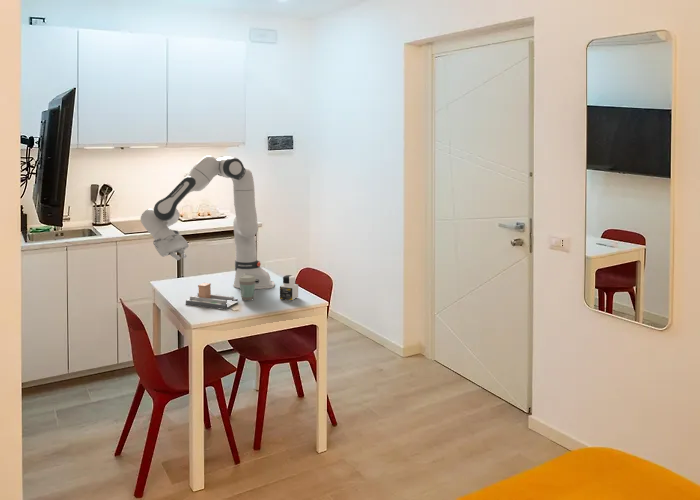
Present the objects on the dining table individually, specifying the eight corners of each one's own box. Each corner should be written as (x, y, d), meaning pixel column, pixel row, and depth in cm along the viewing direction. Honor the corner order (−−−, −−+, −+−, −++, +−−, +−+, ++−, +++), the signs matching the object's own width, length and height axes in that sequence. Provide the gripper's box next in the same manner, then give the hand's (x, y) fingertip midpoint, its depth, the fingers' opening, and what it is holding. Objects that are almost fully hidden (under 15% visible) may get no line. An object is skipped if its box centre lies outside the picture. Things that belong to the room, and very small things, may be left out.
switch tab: (198, 299, 307) (197, 285, 306) (204, 296, 312) (203, 282, 311) (205, 300, 306) (205, 286, 304) (211, 297, 311) (210, 283, 309)
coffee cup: (241, 296, 321) (241, 274, 319) (257, 297, 320) (257, 274, 318) (237, 301, 313) (236, 278, 310) (253, 301, 312) (253, 278, 310)
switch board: (185, 304, 306) (185, 297, 305) (199, 298, 317) (199, 291, 316) (225, 309, 299) (224, 302, 298) (237, 302, 310) (237, 296, 309)
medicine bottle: (279, 299, 317) (279, 276, 315) (286, 296, 323) (285, 273, 321) (292, 301, 314) (292, 278, 312) (298, 297, 321) (298, 275, 319)
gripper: (155, 236, 300) (173, 258, 298) (180, 230, 319) (197, 250, 317) (147, 245, 302) (165, 266, 301) (173, 238, 321) (190, 258, 320)
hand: (182, 258), depth 309 cm, fingers open, 3 cm apart
